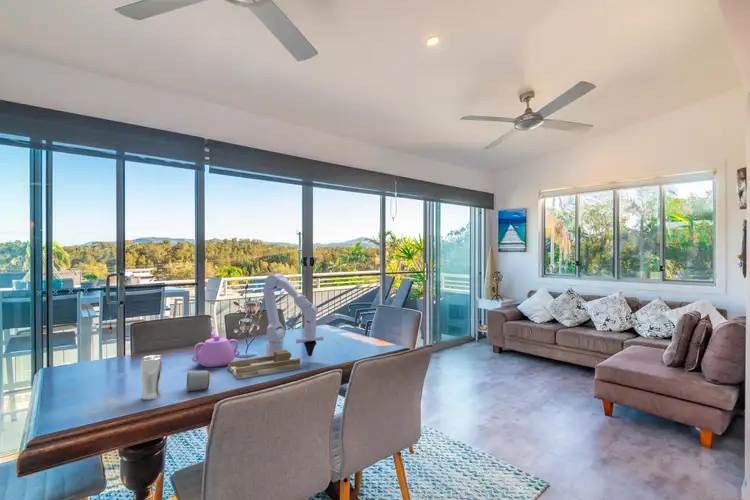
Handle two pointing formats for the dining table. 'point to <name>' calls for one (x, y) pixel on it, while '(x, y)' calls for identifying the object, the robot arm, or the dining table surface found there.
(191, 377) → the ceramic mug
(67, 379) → the dining table surface
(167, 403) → the dining table surface
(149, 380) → the beer glass
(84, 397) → the dining table surface
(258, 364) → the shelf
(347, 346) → the dining table surface
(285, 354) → the walnut block
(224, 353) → the purple sugar bowl
